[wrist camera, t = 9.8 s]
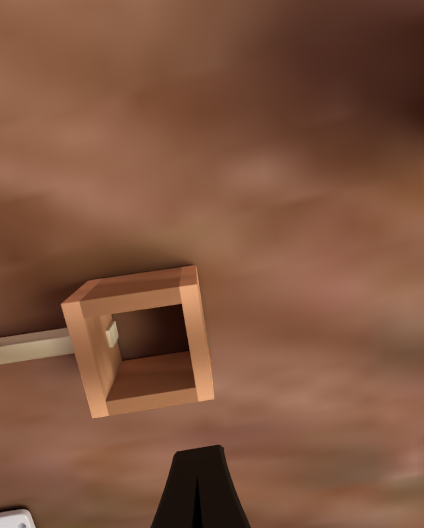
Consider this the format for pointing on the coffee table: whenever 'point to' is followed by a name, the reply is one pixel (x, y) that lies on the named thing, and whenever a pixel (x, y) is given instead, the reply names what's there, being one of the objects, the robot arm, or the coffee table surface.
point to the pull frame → (107, 349)
